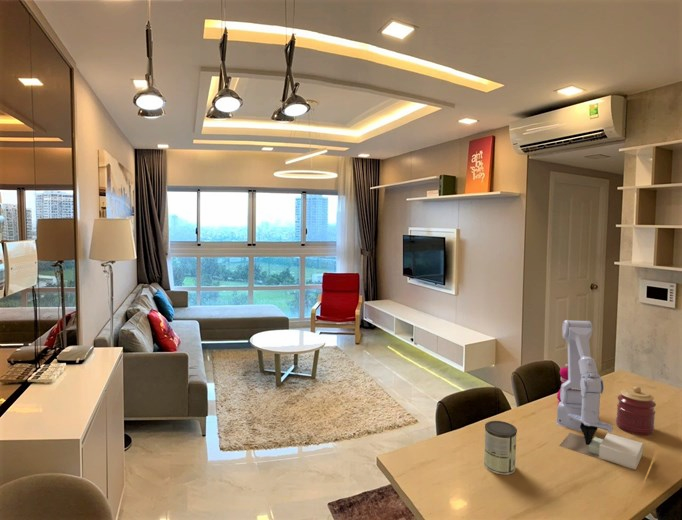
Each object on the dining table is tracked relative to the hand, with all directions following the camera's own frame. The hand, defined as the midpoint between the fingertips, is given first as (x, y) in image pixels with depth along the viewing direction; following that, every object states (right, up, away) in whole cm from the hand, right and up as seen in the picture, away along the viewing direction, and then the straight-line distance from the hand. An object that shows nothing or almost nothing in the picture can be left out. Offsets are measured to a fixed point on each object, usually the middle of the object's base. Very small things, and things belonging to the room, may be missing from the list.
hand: (588, 444), depth 163 cm
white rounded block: (+7, -2, -7) cm, 10 cm away
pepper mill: (+10, +2, +36) cm, 37 cm away
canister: (+28, 0, +15) cm, 32 cm away
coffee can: (-38, -3, -12) cm, 40 cm away
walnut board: (+3, -2, -2) cm, 4 cm away
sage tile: (+5, -1, -4) cm, 7 cm away
